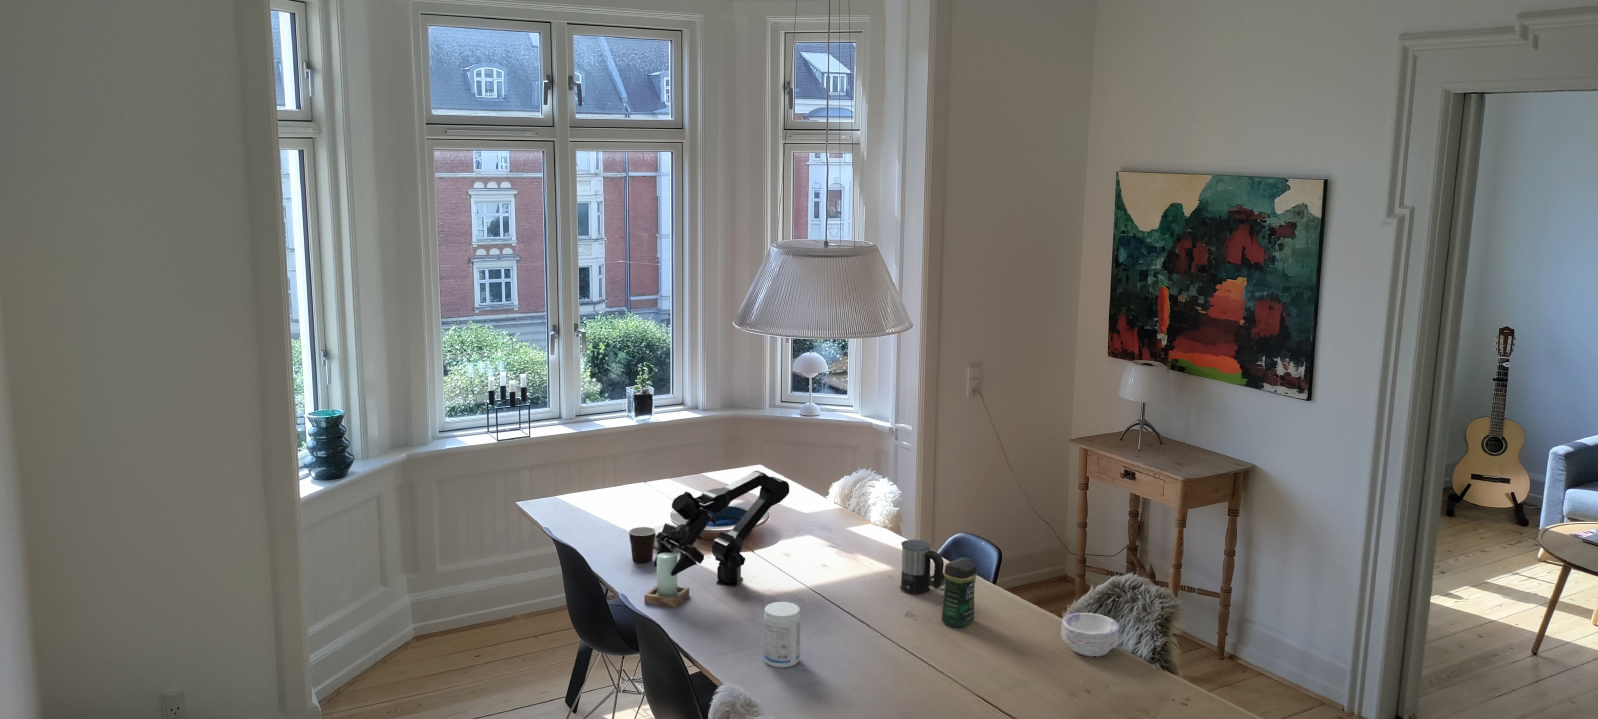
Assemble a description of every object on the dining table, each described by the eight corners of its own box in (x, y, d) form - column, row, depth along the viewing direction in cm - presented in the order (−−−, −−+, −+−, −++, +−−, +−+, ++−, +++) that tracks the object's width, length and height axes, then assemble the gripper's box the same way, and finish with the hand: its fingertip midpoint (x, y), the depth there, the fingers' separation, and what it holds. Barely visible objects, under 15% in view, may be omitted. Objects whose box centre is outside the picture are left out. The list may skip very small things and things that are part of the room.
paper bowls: (1064, 634, 306) (1066, 607, 304) (1120, 643, 300) (1122, 616, 299) (1056, 656, 292) (1058, 628, 290) (1114, 666, 286) (1116, 638, 285)
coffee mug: (650, 566, 351) (650, 536, 350) (625, 563, 353) (625, 534, 351) (662, 553, 362) (662, 525, 361) (637, 551, 364) (637, 523, 362)
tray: (689, 595, 328) (689, 587, 327) (674, 607, 318) (674, 599, 318) (659, 590, 331) (659, 582, 330) (644, 603, 322) (644, 594, 321)
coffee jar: (960, 631, 306) (963, 568, 303) (937, 623, 311) (939, 561, 308) (978, 620, 314) (981, 559, 310) (955, 613, 319) (958, 553, 315)
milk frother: (896, 592, 333) (898, 546, 331) (907, 574, 348) (909, 530, 345) (942, 599, 329) (944, 552, 326) (951, 580, 344) (953, 536, 341)
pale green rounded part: (677, 590, 327) (677, 552, 325) (676, 598, 322) (676, 559, 319) (658, 590, 327) (657, 552, 325) (656, 598, 321) (656, 559, 319)
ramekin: (689, 543, 373) (689, 528, 372) (669, 552, 364) (669, 537, 363) (664, 537, 379) (664, 522, 378) (643, 546, 370) (643, 531, 369)
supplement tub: (781, 649, 292) (782, 598, 290) (807, 660, 286) (808, 608, 284) (755, 660, 285) (756, 608, 283) (781, 672, 279) (782, 618, 277)
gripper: (660, 505, 330) (629, 547, 325) (695, 521, 316) (664, 565, 310) (682, 525, 336) (652, 566, 331) (717, 541, 322) (686, 585, 317)
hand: (663, 570), depth 322 cm, fingers open, 9 cm apart
